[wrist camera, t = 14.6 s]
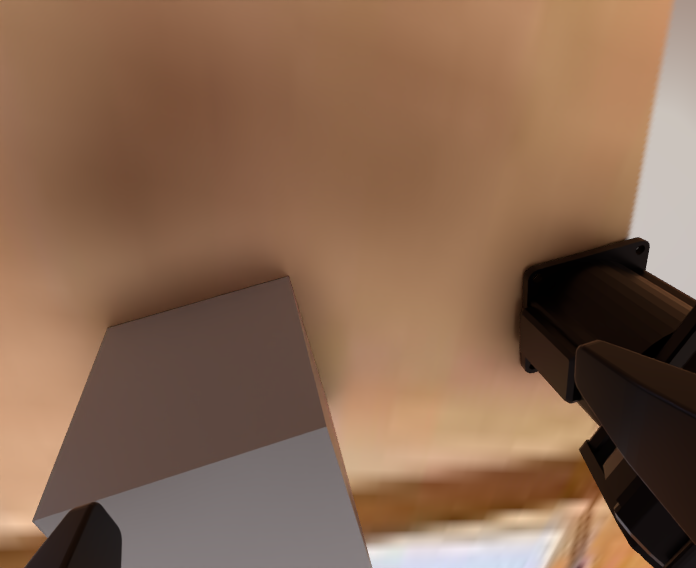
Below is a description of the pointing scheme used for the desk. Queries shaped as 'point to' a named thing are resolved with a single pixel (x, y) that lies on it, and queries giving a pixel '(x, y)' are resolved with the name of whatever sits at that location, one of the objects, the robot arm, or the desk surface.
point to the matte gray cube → (211, 441)
